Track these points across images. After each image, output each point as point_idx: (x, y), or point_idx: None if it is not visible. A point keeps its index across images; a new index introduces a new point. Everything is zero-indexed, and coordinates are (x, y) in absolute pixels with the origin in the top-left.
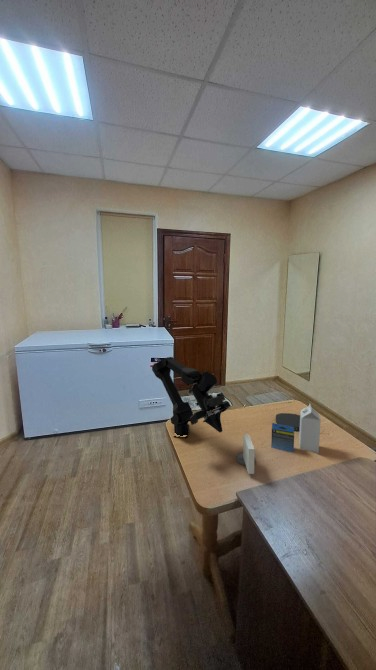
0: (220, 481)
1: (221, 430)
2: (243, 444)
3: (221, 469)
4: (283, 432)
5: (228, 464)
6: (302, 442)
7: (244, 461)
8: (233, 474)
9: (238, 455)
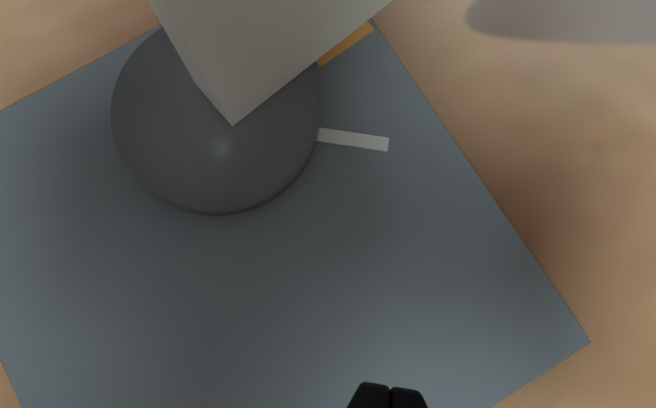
0: (636, 167)
1: (391, 400)
2: (196, 49)
3: None
4: None
5: None
6: None
7: (295, 78)
8: (465, 129)
9: (237, 185)
